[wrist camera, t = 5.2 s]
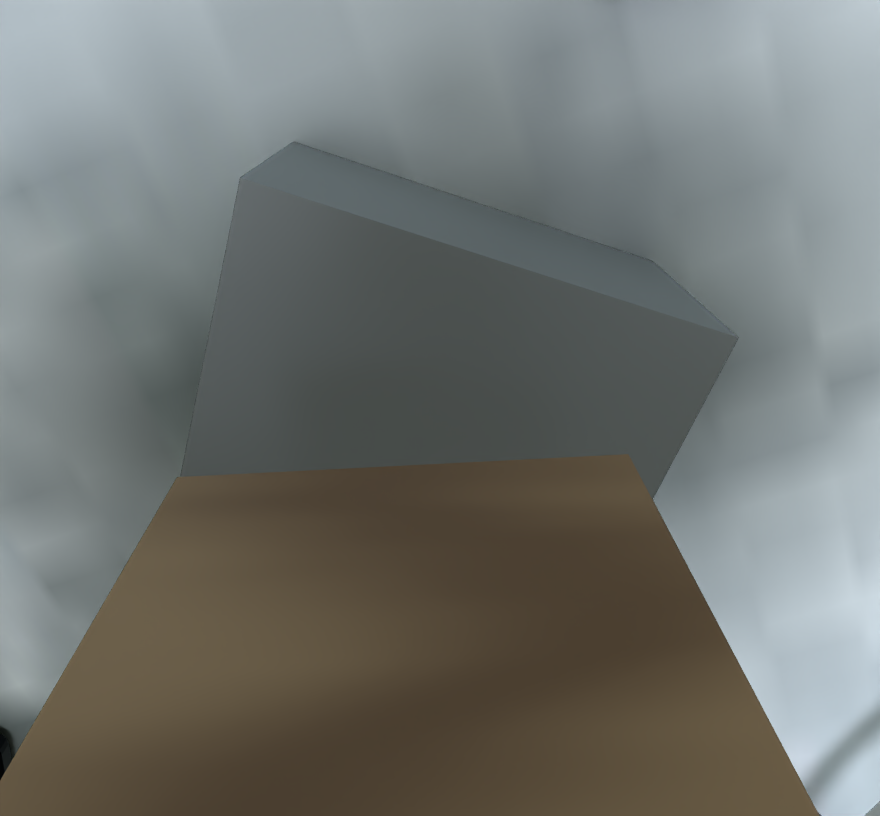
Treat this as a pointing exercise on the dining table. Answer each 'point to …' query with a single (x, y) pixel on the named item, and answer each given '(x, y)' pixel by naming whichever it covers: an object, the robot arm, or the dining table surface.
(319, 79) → the dining table surface
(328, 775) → the walnut block
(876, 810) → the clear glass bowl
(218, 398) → the slate base
